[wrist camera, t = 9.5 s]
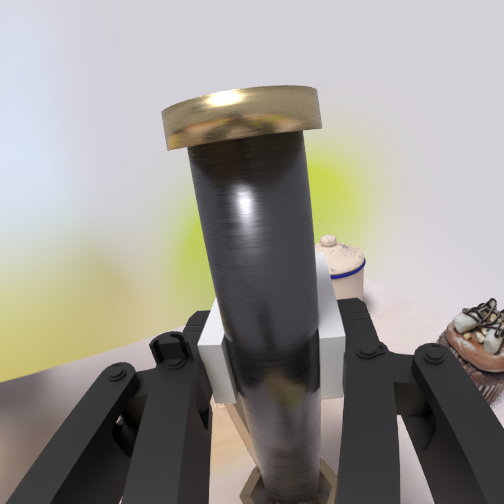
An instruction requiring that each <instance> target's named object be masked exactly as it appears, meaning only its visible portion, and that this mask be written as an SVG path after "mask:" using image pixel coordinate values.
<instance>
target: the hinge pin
mask: <svg viewBox="0 0 504 504" xmlns="http://www.w3.org/2000/svg"><path fill="white" fill-rule="evenodd" d="M162 119H163V126H164V132H165V137H166V144H167V150H168V151H169V150H174V149H179V148H184V147H187V149H188V155H189V160H190V167H191V172H192V178H193V184H194V189H195V194H196V200H197V205H198V210H199V215H200V221H201V226H202V231H203V236H204V241H205V246H206V251H207V255H208V261H209V265H210V270H211V275H212V279H213V284H214V289H215V293H216V298H217V303H218V307H219V311H220V316H221V320H222V325H223V329H224V333H225V338H226V342H227V346H228V350H229V354H230V359H231V363H232V367H233V371H234V375H235V379H236V383H237V387H238V391H239V395H240V399H241V402H242V406H243V410H244V414H245V418H246V421H247V425H248V429H249V432H250V436H251V440H252V443H253V447H254V451H255V454H256V458H257V461H258V465H259V468H260V472H261V475H262V478H263V482H264V485H265V489H266V491H267V493H268V495H269V496H270V497H271V498H272V499H273V500H275V501H276V502H279V503H282V504H299V503H302V502H304V501H306V500H308V499H309V498H311V497H312V496H313V495H314V494H315V492H316V491H317V489H318V486H319V472H320V437H321V395H320V366H319V333H318V325H319V309H318V290H317V273H316V258H315V245H314V233H313V221H312V209H311V199H310V190H309V180H308V171H307V161H306V153H305V145H304V137H303V130H311V129H321V128H322V123H321V115H320V108H319V102H318V95H317V89H315V88H312V87H306V86H289V85H284V86H263V87H252V88H244V89H236V90H230V91H224V92H219V93H214V94H209V95H205V96H201V97H197V98H193V99H190V100H186V101H184V102H180V103H177V104H175V105H172V106H170V107H168V108H166V109H164V110H163V111H162Z"/></svg>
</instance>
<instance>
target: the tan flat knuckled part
mask: <svg viewBox="0 0 504 504" xmlns="http://www.w3.org/2000/svg"><path fill="white" fill-rule="evenodd" d="M224 404H225V406H226V408H227V410H228V412H229V414H230V416H231V418H232V420H233V422H234V424H235V426H236V428H237V430H238V432H239V434H240V436H241V438H242V440H243V442H244V443H245V445H246V447H247V449H248V451H249V453H250V455H251V456H252V458H253V460H254V462H255V464H256V465H257V467H255V468H254V469H253V471H252V473H251V475H250V477H249V479H248V481H247V483H246V484H245V486H244V488H243V490H242V492H241V494H240V498H241V500H242V503H243V504H255V503H256V501H257V499H258V497H259V495H260V493H261V491H262V489H263V487H264V482H263V478H262V475H261V472H260V468H259V465H258V461H257V458H256V454H255V451H254V447H253V443H252V440H251V436H250V432H249V429H248V425H247V421H246V418H245V414H244V410H243V406H242V402H241V399H240V395H239V394H238V398H237V403H224ZM319 482H320V483H321V485H322V486H323V487H324V489H325V490H326V492H327V493H328V494H329V495H330V496H329V499H328V501H327V504H334V500H335V493H336V485H337V476H336V475H335V474H334V473H333V471H332V470H331V469H330V468H329V466H328V465H327V464H326V463H325V461H324V460H321V459H320V472H319ZM311 498H316V499H317V501H318V502H319V503H320V504H326V502H325V501H324V499H323V497H322V496H321V494H320V492H319V490H317V491H316V492H315V494H314V495H313V496H312V497H311ZM272 502H275V500H273V499H272V498H271V497H270V496H269V495H268V497H267V498H266V500H265V502H264V503H263V504H270V503H272Z"/></svg>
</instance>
